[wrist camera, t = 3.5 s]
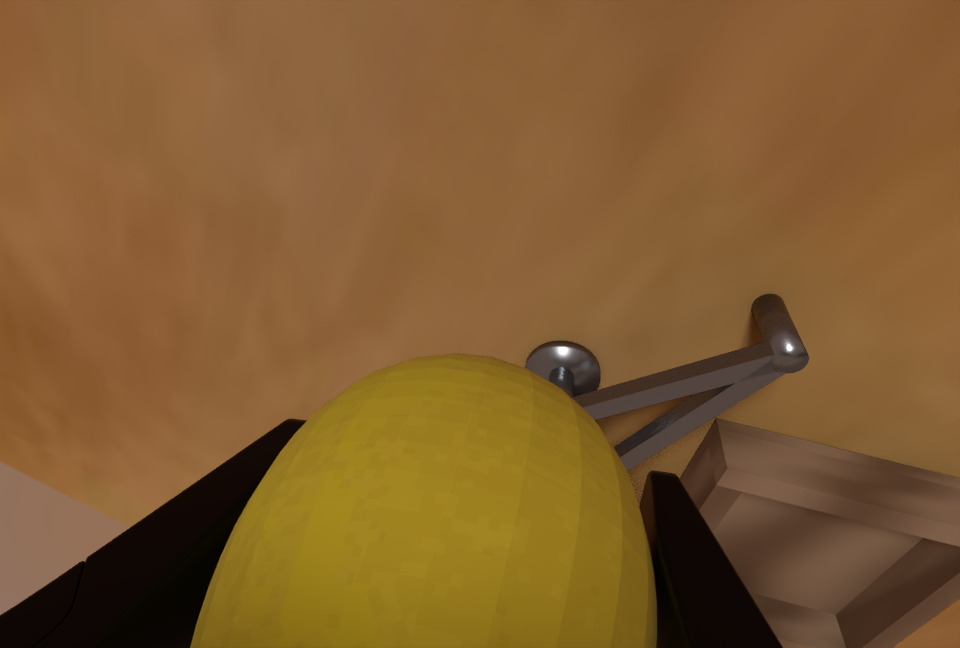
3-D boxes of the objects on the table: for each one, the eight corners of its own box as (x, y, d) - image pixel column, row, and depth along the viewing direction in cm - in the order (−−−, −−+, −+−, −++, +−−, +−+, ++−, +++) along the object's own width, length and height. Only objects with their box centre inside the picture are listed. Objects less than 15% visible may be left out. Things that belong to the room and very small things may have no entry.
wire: (789, 297, 19) (815, 351, 17) (642, 541, 28) (645, 598, 26) (559, 243, 19) (552, 289, 17) (487, 500, 28) (476, 553, 26)
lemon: (708, 399, 10) (881, 1260, 4) (505, 514, 13) (401, 1089, 7) (471, 192, 9) (48, 999, 2) (305, 376, 12) (-73, 936, 5)
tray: (992, 486, 22) (1032, 545, 20) (840, 617, 29) (858, 672, 27) (716, 418, 23) (727, 468, 21) (629, 562, 29) (631, 611, 27)
